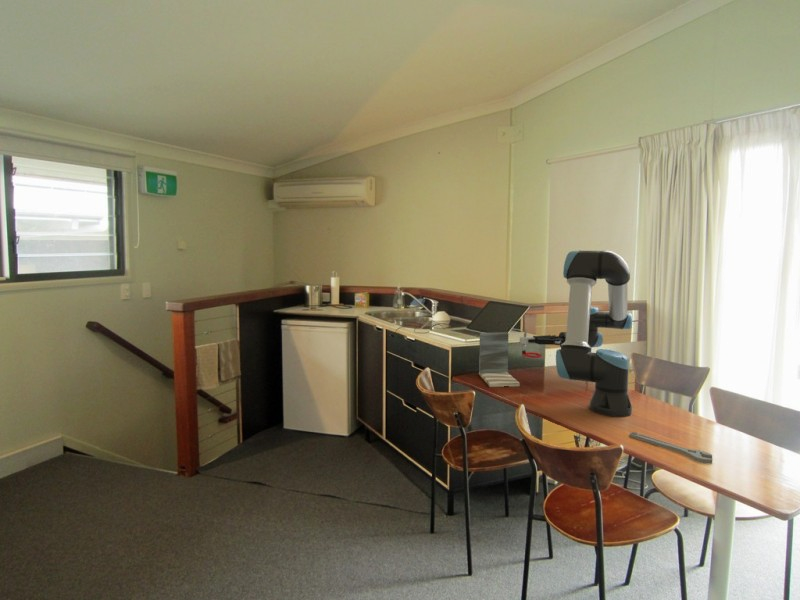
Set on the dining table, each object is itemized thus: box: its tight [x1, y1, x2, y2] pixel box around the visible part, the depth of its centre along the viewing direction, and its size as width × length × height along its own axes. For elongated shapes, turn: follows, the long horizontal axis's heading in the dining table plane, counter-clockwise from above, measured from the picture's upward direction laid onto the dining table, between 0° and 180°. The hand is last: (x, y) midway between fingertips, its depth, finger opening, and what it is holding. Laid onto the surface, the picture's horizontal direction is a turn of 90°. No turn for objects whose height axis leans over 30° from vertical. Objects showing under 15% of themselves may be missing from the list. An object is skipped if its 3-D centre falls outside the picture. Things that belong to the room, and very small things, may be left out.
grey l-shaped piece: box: [478, 331, 521, 388], centre depth 227 cm, size 22×14×22 cm, turn 3°
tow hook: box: [521, 328, 543, 359], centre depth 224 cm, size 8×13×9 cm
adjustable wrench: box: [629, 431, 713, 465], centre depth 149 cm, size 25×6×2 cm, turn 30°
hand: (520, 340), depth 224 cm, fingers closed on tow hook
